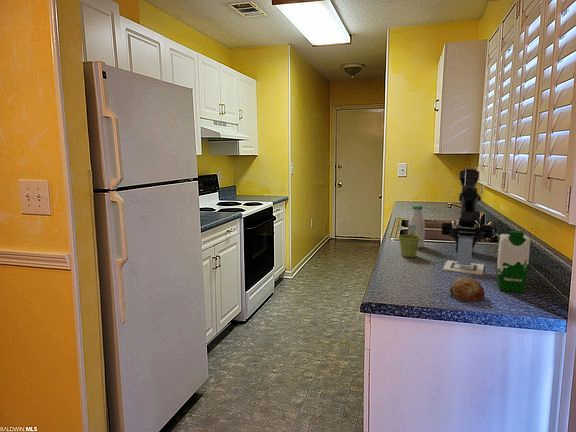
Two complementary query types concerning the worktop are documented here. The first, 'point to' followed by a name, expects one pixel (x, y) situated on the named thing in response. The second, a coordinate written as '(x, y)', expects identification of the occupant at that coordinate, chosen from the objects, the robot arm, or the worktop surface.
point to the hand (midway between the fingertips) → (465, 247)
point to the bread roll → (467, 290)
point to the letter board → (464, 268)
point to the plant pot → (409, 245)
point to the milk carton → (513, 262)
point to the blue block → (464, 251)
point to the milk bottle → (417, 224)
